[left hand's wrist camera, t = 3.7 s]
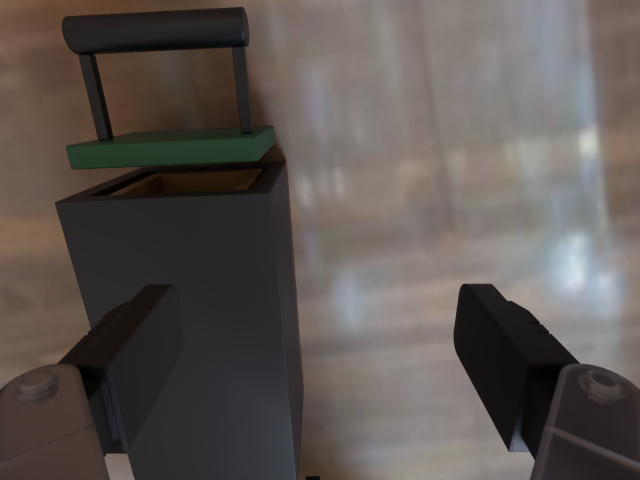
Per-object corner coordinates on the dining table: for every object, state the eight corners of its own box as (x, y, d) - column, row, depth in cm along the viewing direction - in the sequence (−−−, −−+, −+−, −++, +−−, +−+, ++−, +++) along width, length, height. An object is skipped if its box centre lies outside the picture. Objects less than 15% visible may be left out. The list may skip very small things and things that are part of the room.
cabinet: (140, 167, 29) (53, 202, 19) (286, 161, 28) (270, 192, 19) (186, 394, 36) (139, 498, 27) (303, 390, 36) (297, 493, 26)
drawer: (114, 33, 25) (27, 6, 17) (265, 25, 24) (241, -5, 17) (181, 365, 33) (143, 440, 26) (293, 361, 33) (285, 436, 26)
